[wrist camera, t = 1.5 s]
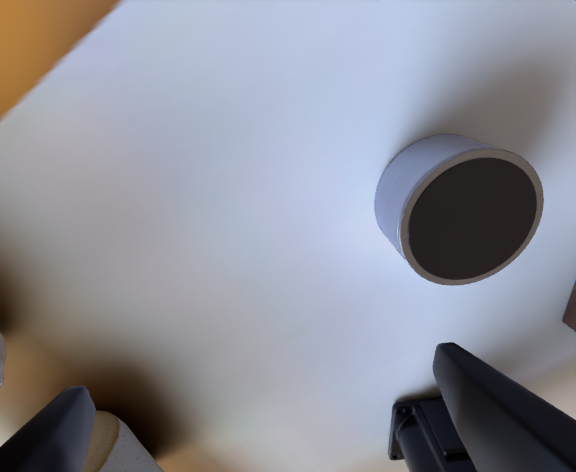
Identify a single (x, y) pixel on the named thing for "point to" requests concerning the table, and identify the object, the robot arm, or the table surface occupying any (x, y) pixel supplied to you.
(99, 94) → the table surface
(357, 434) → the table surface
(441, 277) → the silver pot
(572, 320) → the walnut block
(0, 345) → the frog figurine
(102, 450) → the ceramic mug
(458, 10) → the table surface
